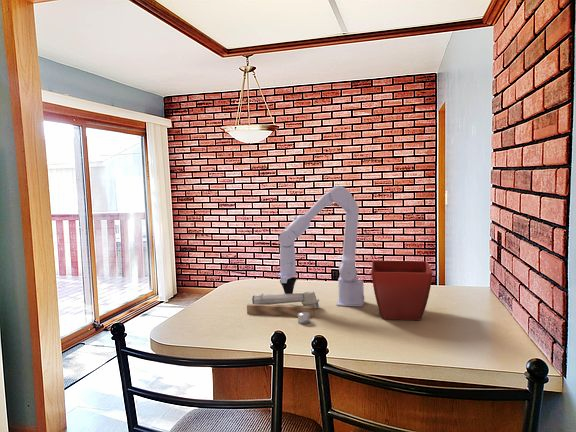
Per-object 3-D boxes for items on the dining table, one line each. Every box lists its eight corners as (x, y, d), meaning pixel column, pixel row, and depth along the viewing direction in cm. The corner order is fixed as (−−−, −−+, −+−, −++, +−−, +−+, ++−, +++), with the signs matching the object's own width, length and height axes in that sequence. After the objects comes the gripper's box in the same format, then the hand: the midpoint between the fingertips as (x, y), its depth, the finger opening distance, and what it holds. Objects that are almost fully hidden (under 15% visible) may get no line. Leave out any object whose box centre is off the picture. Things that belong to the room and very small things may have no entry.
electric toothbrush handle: (255, 293, 175) (318, 287, 167) (258, 310, 175) (321, 304, 168) (250, 296, 170) (314, 290, 162) (253, 314, 170) (317, 309, 163)
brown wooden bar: (314, 314, 158) (314, 306, 158) (313, 316, 156) (313, 307, 156) (249, 311, 164) (248, 303, 164) (247, 313, 162) (246, 305, 161)
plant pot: (433, 324, 144) (433, 272, 143) (371, 322, 148) (371, 271, 146) (427, 307, 163) (427, 260, 161) (372, 305, 166) (372, 260, 165)
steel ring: (311, 320, 152) (310, 312, 151) (308, 324, 148) (308, 315, 147) (299, 320, 152) (299, 311, 152) (296, 324, 149) (296, 315, 148)
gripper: (282, 258, 179) (283, 292, 180) (272, 265, 165) (273, 302, 166) (299, 258, 177) (300, 292, 178) (291, 266, 163) (292, 303, 164)
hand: (288, 297), depth 172 cm, fingers closed
